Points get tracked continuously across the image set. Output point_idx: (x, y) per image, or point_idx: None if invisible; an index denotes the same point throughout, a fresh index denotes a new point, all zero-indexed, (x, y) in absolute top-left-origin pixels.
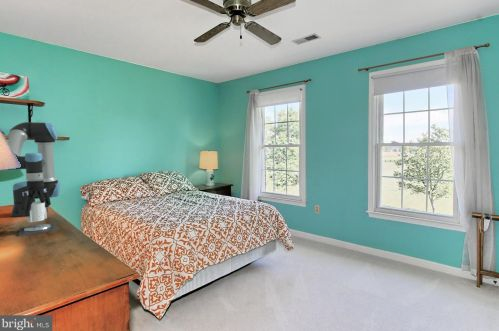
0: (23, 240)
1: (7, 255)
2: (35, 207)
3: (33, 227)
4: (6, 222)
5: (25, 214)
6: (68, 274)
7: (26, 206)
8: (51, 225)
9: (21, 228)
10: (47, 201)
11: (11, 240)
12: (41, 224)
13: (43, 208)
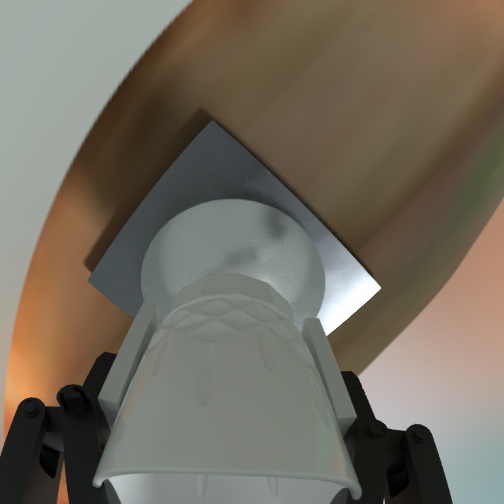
0: (72, 355)
1: (10, 397)
2: (157, 490)
3: (214, 271)
4: None
5: (92, 370)
6: (64, 490)
7: (58, 477)
8: (320, 318)
9: (204, 144)
10: (392, 498)
11: (44, 301)
12: (310, 256)
13: (250, 478)
